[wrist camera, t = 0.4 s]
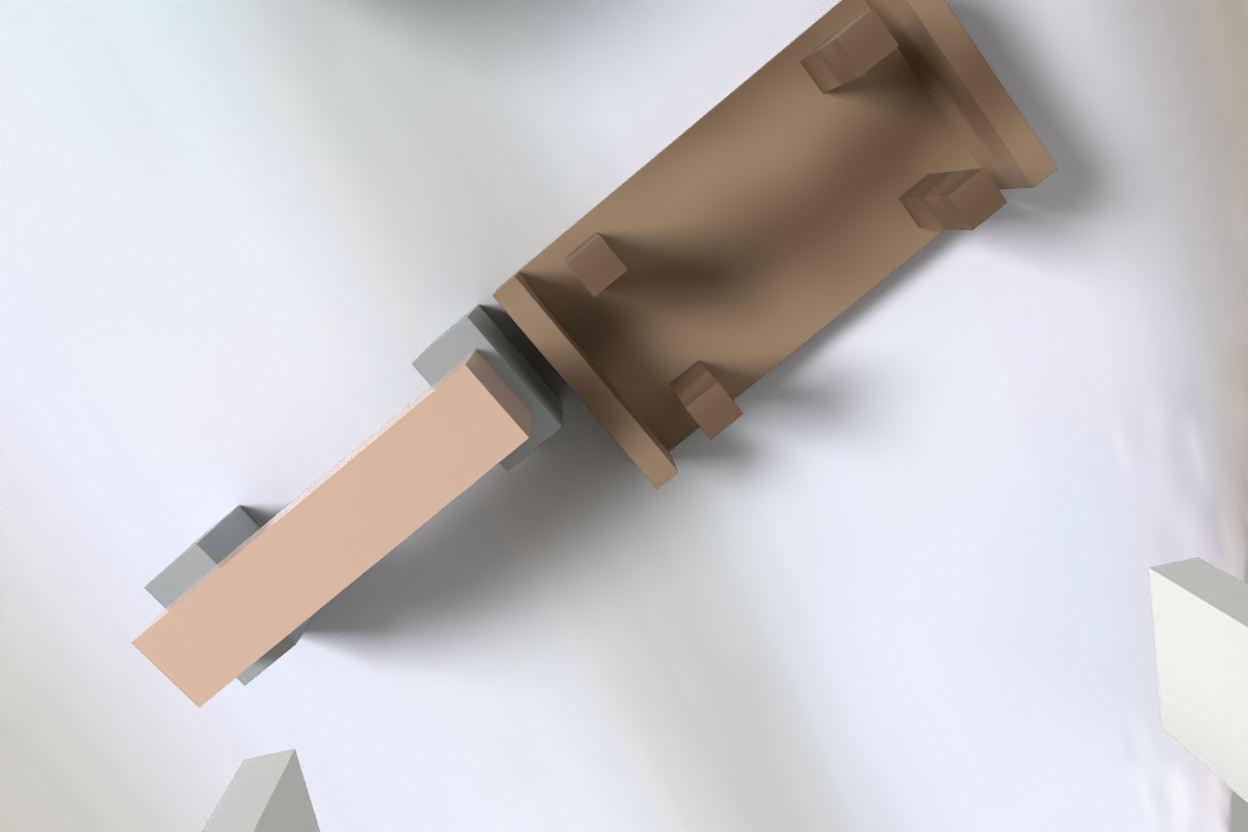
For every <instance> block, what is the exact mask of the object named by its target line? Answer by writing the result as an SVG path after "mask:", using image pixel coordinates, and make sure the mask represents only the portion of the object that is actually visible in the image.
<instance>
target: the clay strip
mask: <svg viewBox="0 0 1248 832" xmlns="http://www.w3.org/2000/svg"><path fill="white" fill-rule="evenodd" d="M531 421H532V414H531V412H530V411H529V410H528V409H527V408H526V407H525V405H524V404H523V403H522V402H521V401H520V400H519V399H518V397H517V396H516V395H515V394H514V393H513V392H512V390H511V389H510V388H509V387H508V386H507V385H506V384H505V382H504V381H503V380H502V379H501V378H500V377H499V375H498V374H497V373H496V372H495V371H494V370H493V369H492V367H491V366H490V365H489V364H488V363H487V362H486V360H485V359H484V358H483V357H482V356H481V355H480V353H479V352H478V351H477V350H476V349H475V350H474V351H472V352H471V353H470V354H469V355H468V356H466V357H465V358H464V359H463V360H462V361H460V362H459V363H458V364H457V365H456V366H454V367H453V368H452V369H451V370H450V371H448V372H447V373H446V374H445V375H444V376H442V377H441V378H440V379H439V380H438V381H436V382H435V383H434V384H433V385H432V386H430V387H429V388H428V389H427V390H426V391H424V392H423V393H422V394H421V395H420V396H418V397H417V398H416V399H415V400H414V401H412V402H411V403H410V404H409V405H408V406H406V407H405V408H404V409H403V410H402V411H400V412H399V413H398V414H397V415H396V416H394V417H393V418H392V419H391V420H390V421H388V422H387V423H386V424H385V425H384V426H382V427H381V428H380V429H379V430H378V431H376V432H375V433H374V434H373V435H372V436H370V437H369V438H368V439H367V440H366V441H364V442H363V443H362V444H361V445H360V446H358V447H357V448H356V449H355V450H354V451H352V452H351V453H350V454H349V455H348V456H346V457H345V458H344V459H343V460H342V461H340V462H339V463H338V464H337V465H336V466H334V467H333V468H332V469H331V470H330V471H328V472H327V473H326V474H325V475H324V476H322V477H321V478H320V479H319V480H318V481H316V482H315V483H314V484H313V485H312V486H310V487H309V488H308V489H307V490H306V491H304V492H303V493H302V494H301V495H300V496H298V497H297V498H296V499H295V500H294V501H292V502H291V503H290V504H289V505H288V506H286V507H285V508H284V509H283V510H282V511H280V512H279V513H278V514H277V515H276V516H274V517H273V518H272V519H271V520H270V521H268V522H267V523H266V524H265V525H264V526H262V527H261V528H260V529H259V530H258V531H256V532H255V533H254V534H253V535H252V536H250V537H249V538H248V539H247V540H246V541H244V542H243V543H242V544H241V545H240V546H238V547H237V548H236V549H235V550H234V551H232V552H231V553H230V554H229V555H227V556H226V557H225V558H224V559H223V560H221V561H220V562H219V563H218V564H217V565H215V566H214V567H213V568H212V569H211V570H209V571H208V572H207V573H206V574H205V575H203V576H202V577H201V578H200V579H199V580H197V581H196V582H195V583H194V584H193V585H191V586H190V587H189V588H188V589H187V590H185V591H184V592H183V593H182V594H181V595H179V596H178V597H177V598H176V599H175V600H174V601H173V602H172V603H171V604H170V605H169V606H168V607H167V608H166V609H165V610H164V611H163V612H162V613H161V614H160V615H159V616H158V617H157V618H156V619H155V620H154V621H153V622H152V623H151V624H150V625H149V626H148V627H147V628H146V629H145V630H144V631H143V632H142V633H141V634H140V635H139V636H138V637H137V638H136V639H135V640H134V641H133V642H132V644H133V645H134V646H135V647H136V648H137V649H138V650H139V651H140V652H141V653H142V654H143V655H144V656H146V657H147V658H148V659H149V660H150V661H151V662H152V663H153V664H154V665H155V666H156V667H157V668H158V669H159V670H160V671H161V672H162V673H163V674H164V675H165V676H166V677H168V678H169V679H170V680H171V681H172V682H173V683H174V684H175V685H176V686H177V687H178V688H179V689H180V690H181V691H182V692H183V693H184V694H185V695H186V696H187V697H188V698H190V699H191V700H192V701H193V702H194V703H195V704H196V705H197V706H198V707H200V706H202V705H203V704H204V703H205V702H207V701H208V700H209V699H210V698H212V697H213V696H214V695H215V694H216V693H218V692H219V691H220V690H221V689H223V688H224V687H225V686H226V685H227V684H229V683H230V682H231V681H232V680H234V679H235V678H236V677H237V676H238V675H240V674H241V673H242V672H243V671H245V670H246V669H247V668H248V667H249V666H251V665H252V664H253V663H254V662H256V661H257V660H258V659H259V658H260V657H262V656H263V655H264V654H265V653H267V652H268V651H269V650H270V649H271V648H273V647H274V646H275V645H276V644H278V643H279V642H280V641H281V640H282V639H284V638H285V637H286V636H287V635H289V634H290V633H291V632H292V631H293V630H295V629H296V628H297V627H298V626H300V625H301V624H302V623H303V622H304V621H306V620H307V619H308V618H309V617H311V616H312V615H313V614H314V613H315V612H317V611H318V610H319V609H320V608H322V607H323V606H324V605H325V604H326V603H328V602H329V601H330V600H331V599H333V598H334V597H335V596H336V595H338V594H339V593H340V592H341V591H342V590H344V589H345V588H346V587H347V586H349V585H350V584H351V583H352V582H353V581H355V580H356V579H357V578H358V577H360V576H361V575H362V574H363V573H364V572H366V571H367V570H368V569H369V568H371V567H372V566H373V565H374V564H375V563H377V562H378V561H379V560H380V559H382V558H383V557H384V556H385V555H386V554H388V553H389V552H390V551H391V550H393V549H394V548H395V547H396V546H397V545H399V544H400V543H401V542H402V541H404V540H405V539H406V538H407V537H408V536H410V535H411V534H412V533H413V532H415V531H416V530H417V529H418V528H419V527H421V526H422V525H423V524H424V523H426V522H427V521H428V520H429V519H430V518H432V517H433V516H434V515H435V514H437V513H438V512H439V511H440V510H441V509H443V508H444V507H445V506H446V505H448V504H449V503H450V502H451V501H452V500H454V499H455V498H456V497H457V496H459V495H460V494H461V493H462V492H464V491H465V490H466V489H467V488H468V487H470V486H471V485H472V484H473V483H475V482H476V481H477V480H478V479H479V478H481V477H482V476H483V475H484V474H486V473H487V472H488V471H489V470H490V469H492V468H493V467H494V466H495V465H497V464H498V463H499V462H500V461H501V460H503V459H504V458H505V457H506V456H508V455H509V454H510V453H511V452H512V451H514V450H515V449H516V448H517V447H519V446H520V445H521V444H522V443H523V442H525V441H526V440H527V439H528V438H529V435H530V428H531Z"/></svg>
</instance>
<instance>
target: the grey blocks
mask: <svg viewBox="0 0 1248 832" xmlns="http://www.w3.org/2000/svg"><path fill="white" fill-rule="evenodd" d="M475 349H476V350H477V351H478V352H479V353H480V355H481V356H482V357H483V358H484V359H485V360H486V362H487V363H488V364H489V365H490V366H491V367H492V369H493V370H494V371H495V372H496V373H497V374H498V375H499V377H500V378H501V379H502V380H503V381H504V382H505V384H506V385H507V386H508V387H509V388H510V389H511V390H512V392H513V393H514V394H515V395H516V396H517V397H518V399H519V400H520V401H521V402H522V403H523V404H524V405H525V407H526V408H527V409H528V410H529V411H530V412H531V414H532V421H531V428H530V435H529V438H528V439H527V440H526V441H525V442H523V443H522V444H521V445H520V446H519V447H517V448H516V449H515V450H514V451H512V452H511V453H510V454H509V455H508V456H506V457H505V458H504V459H503V460H501V461H500V462H499V463H500V464H501V465H502V466H503V467H504V468H505V469H506V471H507V472H508V471H509V470H510V469H511V468H513V467H514V466H515V465H516V464H517V463H519V462H520V461H521V460H522V459H524V458H525V457H526V456H527V455H528V454H530V453H531V452H532V451H533V450H535V449H536V448H537V447H538V446H540V445H541V444H542V443H543V442H544V441H546V440H547V439H548V438H549V437H551V436H552V435H553V434H554V433H555V432H557V431H558V430H559V429H560V428H562V401H561V400H560V399H559V398H558V397H557V396H556V394H555V393H554V392H553V391H552V390H551V389H550V387H549V386H548V385H547V384H546V383H545V382H544V380H543V379H542V378H541V377H540V376H539V375H538V373H537V372H536V371H535V370H534V369H533V368H532V366H531V365H530V364H529V363H528V362H527V361H526V359H525V358H524V357H523V356H522V355H521V354H520V352H519V351H518V350H517V349H516V348H515V346H514V345H513V344H512V343H511V342H510V341H509V339H508V338H507V337H506V336H505V335H504V334H503V332H502V331H501V330H500V329H499V328H498V327H497V325H496V324H495V323H494V322H493V321H492V320H491V318H490V317H489V316H488V315H487V314H486V313H485V311H484V310H483V309H482V308H481V307H480V306H479V305H478V306H476V307H475V308H474V309H473V310H472V311H470V312H469V313H468V314H467V315H466V316H465V317H463V318H462V319H461V320H460V321H459V322H457V323H456V324H455V325H454V326H453V327H451V328H450V329H449V330H448V331H447V332H445V333H444V334H443V335H442V336H441V337H439V338H438V339H437V340H436V341H435V342H433V343H432V344H431V345H430V346H429V347H428V348H427V349H426V350H425V351H424V352H423V353H422V354H421V355H420V356H419V357H418V358H417V359H416V360H415V361H414V362H413V363H412V365H413V366H414V367H415V368H416V369H417V370H418V371H419V372H420V374H421V375H422V376H423V377H424V378H425V379H426V380H427V381H428V383H429V384H430V385H431V386H432V385H433V384H434V383H435V382H436V381H438V380H439V379H440V378H441V377H442V376H444V375H445V374H446V373H447V372H448V371H450V370H451V369H452V368H453V367H454V366H456V365H457V364H458V363H459V362H460V361H462V360H463V359H464V358H465V357H466V356H468V355H469V354H470V353H471V352H472V351H474V350H475ZM260 528H261V527H260V526H259V525H258V524H257V523H256V522H255V521H254V520H253V519H252V518H251V517H250V516H249V515H248V514H247V513H246V512H245V511H244V510H243V509H242V508H241V507H240V506H238V507H237V508H235V509H234V510H233V511H232V512H231V513H229V514H228V515H227V516H226V517H225V518H223V519H222V520H221V521H220V522H219V523H217V524H216V525H215V526H214V527H213V528H211V529H210V530H209V531H208V532H207V533H205V534H204V535H203V536H202V537H201V538H200V539H198V540H197V541H196V542H195V543H194V544H192V545H191V546H190V547H189V548H188V549H187V550H186V551H185V552H183V553H182V554H181V555H180V556H179V557H178V558H177V559H176V560H175V561H173V562H172V563H171V564H170V565H169V566H168V567H167V568H166V569H164V570H163V571H162V572H161V573H160V574H159V575H158V576H157V577H155V578H154V579H153V580H152V581H151V582H150V583H149V584H148V585H147V586H145V587H144V588H145V589H146V590H147V591H148V592H149V593H150V594H151V595H152V596H153V597H154V598H155V599H156V600H157V601H158V602H159V603H160V604H161V605H162V606H163V607H165V608H167V607H168V606H169V605H170V604H171V603H172V602H173V601H174V600H175V599H176V598H177V597H178V596H179V595H181V594H182V593H183V592H184V591H185V590H187V589H188V588H189V587H190V586H191V585H193V584H194V583H195V582H196V581H197V580H199V579H200V578H201V577H202V576H203V575H205V574H206V573H207V572H208V571H209V570H211V569H212V568H213V567H214V566H215V565H217V564H218V563H219V562H220V561H221V560H223V559H224V558H225V557H226V556H227V555H229V554H230V553H231V552H232V551H234V550H235V549H236V548H237V547H238V546H240V545H241V544H242V543H243V542H244V541H246V540H247V539H248V538H249V537H250V536H252V535H253V534H254V533H255V532H256V531H258V530H259V529H260ZM315 613H316V612H315ZM315 613H314V614H315ZM314 614H313V615H312V616H311V617H309V618H308V619H307V620H306V621H304V622H303V623H302V624H301V625H300V626H298V627H297V628H296V629H295V630H293V631H292V632H291V633H290V634H289V635H287V636H286V637H285V638H284V639H282V640H281V641H280V642H279V643H278V644H276V645H275V646H274V647H273V648H271V649H270V650H269V651H268V652H267V653H265V654H264V655H263V656H262V657H260V658H259V659H258V660H257V661H256V662H254V663H253V664H252V665H251V666H249V667H248V668H247V669H246V670H245V671H243V672H242V673H241V674H240V675H238V676H237V677H236V678H237V679H238V680H239V681H240V682H241V683H243V684H244V685H246V684H248V683H249V682H250V681H251V680H253V679H254V678H255V677H256V676H257V675H259V674H260V673H261V672H262V671H264V670H265V669H266V668H267V667H269V666H270V665H271V664H272V663H273V662H275V661H276V660H277V659H278V658H280V657H281V656H282V655H283V654H284V653H286V652H287V651H288V650H289V649H291V648H292V647H293V646H294V645H296V643H297V642H298V640H299V639H300V637H301V635H302V634H303V632H304V630H305V629H306V627H307V626H308V624H309V622H310V621H311V619H312V618H313V616H314Z"/></svg>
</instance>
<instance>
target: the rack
mask: <svg viewBox="0 0 1248 832" xmlns="http://www.w3.org/2000/svg"><path fill="white" fill-rule="evenodd" d="M1056 169H1058V168H1057V167H1056V165H1055V164H1054V162H1053V161H1052V159H1051V158H1050V156H1049V155H1048V153H1047V152H1046V150H1045V149H1044V147H1043V146H1042V144H1041V143H1040V141H1039V140H1038V139H1037V137H1036V136H1035V134H1034V133H1033V131H1032V130H1031V128H1030V127H1029V125H1028V124H1027V122H1026V121H1025V119H1024V118H1023V116H1022V115H1021V113H1020V112H1019V110H1018V109H1017V107H1016V106H1015V104H1014V103H1013V101H1012V100H1011V98H1010V97H1009V95H1008V94H1007V92H1006V91H1005V89H1004V88H1003V86H1002V85H1001V83H1000V82H999V80H998V79H997V77H996V76H995V74H994V73H993V71H992V70H991V68H990V67H989V65H988V64H987V62H986V61H985V59H984V58H983V56H982V55H981V53H980V52H979V50H978V49H977V47H976V46H975V45H974V43H973V42H972V40H971V39H970V37H969V36H968V34H967V33H966V31H965V30H964V28H963V27H962V25H961V24H960V22H959V21H958V19H957V18H956V16H955V15H954V13H953V12H952V10H951V9H950V7H949V6H948V4H947V3H946V1H945V0H842V1H840V2H839V3H838V4H837V5H836V6H835V7H833V8H832V9H831V10H830V11H829V12H827V13H826V14H825V15H824V16H823V17H821V18H820V19H819V20H818V21H817V22H815V23H814V24H813V25H812V26H811V27H809V28H808V29H807V30H806V31H805V32H803V33H802V34H801V35H800V36H799V37H798V38H796V39H795V40H794V41H793V42H792V43H790V44H789V45H788V46H787V47H786V48H784V49H783V50H782V51H781V52H780V53H778V54H777V55H776V56H775V57H774V58H772V59H771V60H770V61H769V62H768V63H766V64H765V65H764V66H763V67H762V68H761V69H759V70H758V71H757V72H756V73H755V74H753V75H752V76H751V77H750V78H749V79H747V80H746V81H745V82H744V83H743V84H741V85H740V86H739V87H738V88H737V89H735V90H734V91H733V92H732V93H731V94H729V95H728V96H727V97H726V98H725V99H724V100H722V101H721V102H720V103H719V104H718V105H716V106H715V107H714V108H713V109H712V110H710V111H709V112H708V113H707V114H706V115H704V116H703V117H702V118H701V119H700V120H698V121H697V122H696V123H695V124H694V125H692V126H691V127H690V128H689V129H688V130H687V131H685V132H684V133H683V134H682V135H681V136H679V137H678V138H677V139H676V140H675V141H673V142H672V143H671V144H670V145H669V146H667V147H666V148H665V149H664V150H663V151H661V152H660V153H659V154H658V155H657V156H655V157H654V158H653V159H652V160H651V161H650V162H648V163H647V164H646V165H645V166H644V167H642V168H641V169H640V170H639V171H638V172H636V173H635V174H634V175H633V176H632V177H630V178H629V179H628V180H627V181H626V182H624V183H623V184H622V185H621V186H620V187H618V188H617V189H616V190H615V191H614V192H613V193H611V194H610V195H609V196H608V197H607V198H605V199H604V200H603V201H602V202H601V203H599V204H598V205H597V206H596V207H595V208H593V209H592V210H591V211H590V212H589V213H587V214H586V215H585V216H584V217H583V218H581V219H580V220H579V221H578V222H577V223H576V224H574V225H573V226H572V227H571V228H570V229H568V230H567V231H566V232H565V233H564V234H562V235H561V236H560V237H559V238H558V239H556V240H555V241H554V242H553V243H552V244H550V245H549V246H548V247H547V248H546V249H544V250H543V251H542V252H541V253H540V254H539V255H537V256H536V257H535V258H534V259H533V260H531V261H530V262H529V263H528V264H527V265H525V266H524V267H523V268H522V269H521V270H519V271H518V272H517V273H516V274H515V275H513V276H512V277H511V278H510V279H509V280H507V281H506V282H505V283H504V284H503V285H502V286H500V287H499V288H498V289H497V290H496V292H495V293H494V295H493V297H494V298H495V299H496V300H497V301H498V303H499V304H500V305H501V306H502V307H503V308H504V310H505V311H506V312H507V313H508V314H509V316H510V317H511V318H512V319H513V320H514V321H515V323H516V324H517V325H518V326H519V327H520V329H521V330H522V331H523V332H524V333H525V334H526V336H527V337H528V338H529V339H530V340H531V341H532V343H533V344H534V345H535V346H536V347H537V349H538V350H539V351H540V352H541V353H542V354H543V356H544V357H545V358H546V359H547V360H548V362H549V363H550V364H551V365H552V366H553V367H554V369H555V370H556V371H557V372H558V373H559V374H560V376H561V377H562V378H563V379H564V380H565V382H566V383H567V384H568V385H569V386H570V387H571V389H572V390H573V391H574V392H575V393H576V395H577V396H578V397H579V398H580V399H581V400H582V402H583V403H584V404H585V405H586V406H587V407H588V409H589V410H590V411H591V412H592V413H593V415H594V416H595V417H596V418H597V419H598V420H599V422H600V423H601V424H602V425H603V426H604V428H605V429H606V430H607V431H608V432H609V433H610V435H611V436H612V437H613V438H614V439H615V440H616V442H617V443H618V444H619V445H620V446H621V448H622V449H623V450H624V451H625V452H626V453H627V455H628V456H629V457H630V458H631V459H632V461H633V462H634V463H635V464H636V465H637V466H638V468H639V469H640V470H641V471H642V472H643V473H644V475H645V476H646V477H647V478H648V479H649V481H650V482H651V483H652V484H653V485H654V486H655V488H656V489H658V488H659V487H660V486H661V485H663V484H664V483H665V482H666V481H668V480H669V479H670V478H671V477H673V476H674V475H675V474H676V473H678V470H677V468H676V465H675V463H674V461H673V459H672V457H671V454H670V452H669V451H670V450H672V449H673V448H674V447H675V446H677V445H678V444H679V443H680V442H682V441H683V440H684V439H685V438H686V437H688V436H689V435H690V434H691V433H693V432H694V431H695V430H696V429H698V428H699V427H701V428H702V429H703V430H704V432H705V433H706V434H707V435H708V436H709V438H710V439H712V438H713V437H715V436H716V435H717V434H718V433H720V432H721V431H722V430H723V429H725V428H726V427H727V426H728V425H730V424H731V423H732V422H733V421H735V420H736V419H737V418H738V417H740V416H741V415H742V414H743V412H742V411H741V410H740V409H739V407H738V406H737V405H736V404H735V402H734V401H733V400H734V399H735V398H736V397H738V396H739V395H740V394H741V393H743V392H744V391H745V390H746V389H748V388H749V387H750V386H751V385H753V384H754V383H755V382H756V381H757V380H759V379H760V378H761V377H762V376H764V375H765V374H766V373H767V372H769V371H770V370H771V369H772V368H774V367H775V366H776V365H777V364H779V363H780V362H781V361H782V360H784V359H785V358H786V357H787V356H789V355H790V354H791V353H792V352H794V351H795V350H796V349H797V348H799V347H800V346H801V345H802V344H804V343H805V342H806V341H807V340H809V339H810V338H811V337H812V336H814V335H815V334H816V333H817V332H819V331H820V330H821V329H822V328H824V327H825V326H826V325H827V324H828V323H830V322H831V321H832V320H833V319H835V318H836V317H837V316H838V315H840V314H841V313H842V312H843V311H845V310H846V309H847V308H848V307H850V306H851V305H852V304H853V303H855V302H856V301H857V300H858V299H860V298H861V297H862V296H863V295H865V294H866V293H867V292H868V291H870V290H871V289H872V288H873V287H875V286H876V285H877V284H878V283H880V282H881V281H882V280H883V279H885V278H886V277H887V276H888V275H890V274H891V273H892V272H893V271H895V270H896V269H897V268H898V267H899V266H901V265H902V264H903V263H904V262H906V261H907V260H908V259H909V258H911V257H912V256H913V255H914V254H916V253H917V252H918V251H919V250H921V249H922V248H923V247H924V246H926V245H927V244H928V243H929V242H931V241H932V240H933V239H934V238H936V237H937V236H938V235H939V234H941V233H942V232H943V231H944V230H946V229H961V230H973V229H975V228H976V227H977V226H978V225H980V224H981V223H982V222H983V221H985V220H986V219H987V218H988V217H990V216H991V215H992V214H993V213H995V212H996V211H997V210H998V209H1000V208H1001V207H1002V206H1003V205H1005V204H1006V203H1007V201H1006V200H1005V199H1004V197H1003V196H1002V194H1001V193H1000V191H999V190H998V189H1013V188H1031V187H1035V186H1036V185H1038V184H1039V183H1040V182H1041V181H1043V180H1044V179H1045V178H1046V177H1048V176H1049V175H1050V174H1051V173H1053V172H1054V171H1055V170H1056Z"/></svg>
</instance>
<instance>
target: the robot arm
mask: <svg viewBox="0 0 1248 832" xmlns="http://www.w3.org/2000/svg"><path fill="white" fill-rule="evenodd" d="M1149 574H1150V587H1151V599H1152V612H1153V625H1154V637H1155V650H1156V662H1157V675H1158V687H1159V700H1160V713H1161V725H1162V730H1164V731H1165V732H1166V733H1167V734H1168V735H1169V736H1171V737H1172V738H1173V739H1174V740H1175V741H1176V742H1178V743H1179V744H1180V745H1181V746H1182V747H1183V748H1185V749H1186V750H1187V751H1188V752H1189V753H1190V754H1191V755H1193V756H1194V757H1195V758H1196V759H1197V760H1198V761H1200V762H1201V763H1202V764H1203V765H1204V766H1205V767H1207V768H1208V769H1209V770H1210V771H1211V772H1212V773H1214V774H1215V775H1216V776H1217V777H1218V778H1219V779H1221V780H1222V781H1223V782H1224V783H1225V784H1226V785H1228V786H1229V787H1230V788H1231V789H1232V790H1233V791H1235V792H1236V793H1237V794H1238V795H1239V796H1240V797H1241V798H1243V799H1244V800H1245V801H1246V802H1247V803H1248V584H1246V583H1244V582H1242V581H1240V580H1239V579H1237V578H1235V577H1233V576H1231V575H1229V574H1228V573H1226V572H1224V571H1222V570H1220V569H1218V568H1216V567H1215V566H1213V565H1211V564H1209V563H1207V562H1205V561H1203V560H1202V559H1200V558H1193V559H1188V560H1184V561H1179V562H1174V563H1169V564H1165V565H1160V566H1155V567H1151V568H1149ZM202 832H320V830H319V827H318V823H317V820H316V817H315V814H314V810H313V807H312V804H311V800H310V797H309V794H308V791H307V787H306V784H305V781H304V777H303V774H302V771H301V768H300V764H299V761H298V758H297V754H296V751H295V749H292V750H288V751H283V752H278V753H274V754H269V755H264V756H259V757H255V758H250V759H245V760H244V761H243V762H242V764H241V766H240V768H239V769H238V771H237V773H236V774H235V776H234V778H233V779H232V781H231V783H230V785H229V786H228V788H227V790H226V791H225V793H224V795H223V797H222V798H221V800H220V802H219V803H218V805H217V807H216V809H215V810H214V812H213V814H212V815H211V817H210V819H209V820H208V822H207V824H206V826H205V827H204V829H203V831H202Z"/></svg>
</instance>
